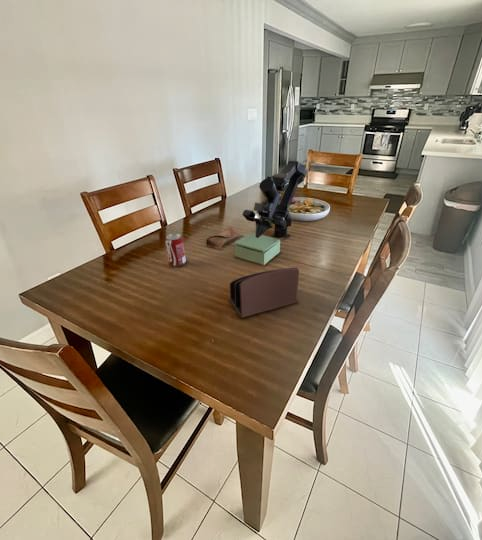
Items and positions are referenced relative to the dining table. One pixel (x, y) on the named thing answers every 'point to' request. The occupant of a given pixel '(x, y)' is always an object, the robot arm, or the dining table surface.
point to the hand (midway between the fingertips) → (256, 237)
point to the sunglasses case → (222, 238)
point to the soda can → (175, 250)
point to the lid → (257, 242)
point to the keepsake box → (257, 253)
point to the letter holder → (264, 291)
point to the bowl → (307, 209)
